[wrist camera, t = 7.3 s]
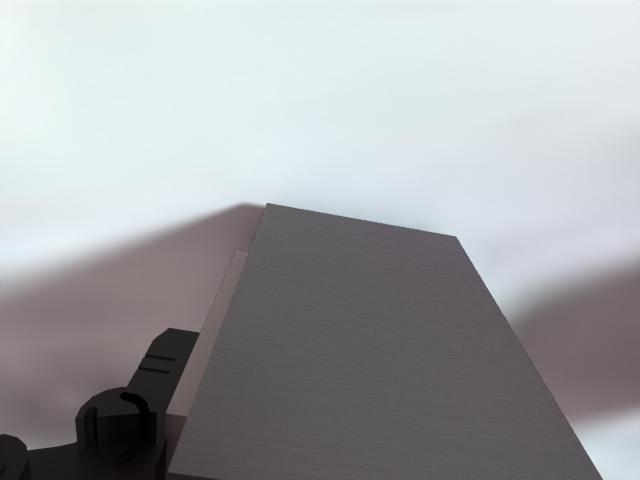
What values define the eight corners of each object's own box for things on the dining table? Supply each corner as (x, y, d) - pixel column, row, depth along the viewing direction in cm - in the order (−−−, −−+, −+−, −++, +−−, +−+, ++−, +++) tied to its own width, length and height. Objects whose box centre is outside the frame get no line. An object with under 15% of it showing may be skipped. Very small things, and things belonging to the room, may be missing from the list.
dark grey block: (266, 202, 13) (166, 471, 5) (455, 236, 14) (638, 537, 6) (246, 353, 16) (157, 690, 8) (405, 378, 16) (479, 726, 8)
